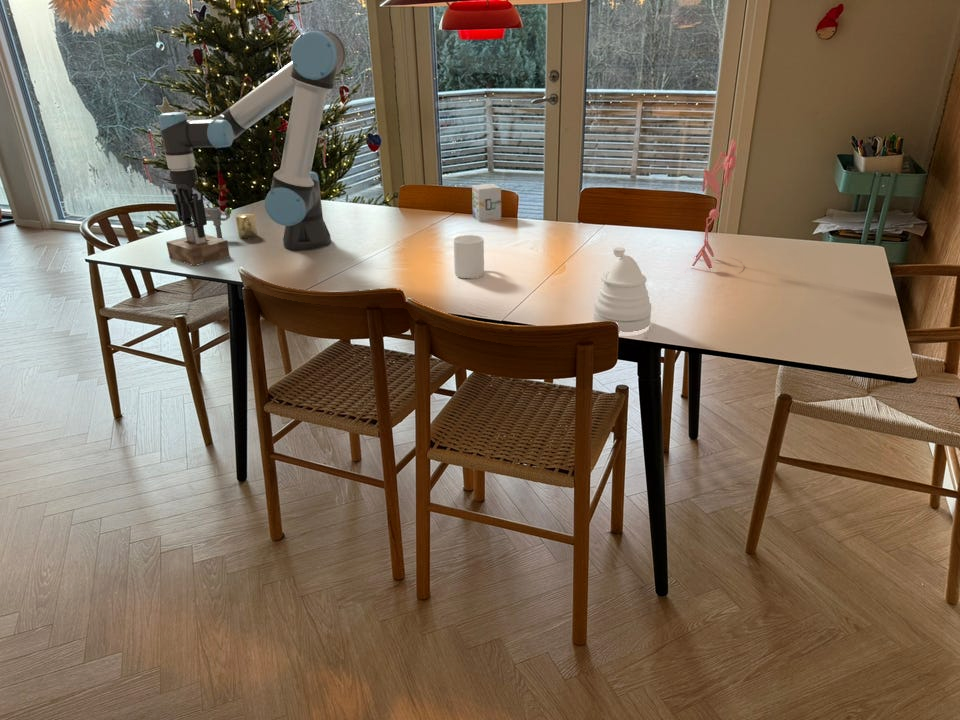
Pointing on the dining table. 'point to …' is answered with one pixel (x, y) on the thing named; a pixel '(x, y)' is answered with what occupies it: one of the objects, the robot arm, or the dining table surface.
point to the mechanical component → (217, 218)
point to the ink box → (486, 202)
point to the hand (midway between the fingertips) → (197, 245)
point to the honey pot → (624, 295)
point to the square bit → (191, 234)
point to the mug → (469, 256)
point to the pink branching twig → (712, 182)
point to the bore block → (198, 250)
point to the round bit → (246, 226)
